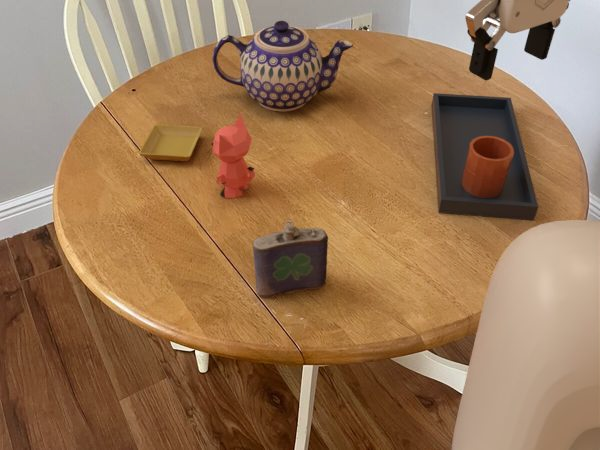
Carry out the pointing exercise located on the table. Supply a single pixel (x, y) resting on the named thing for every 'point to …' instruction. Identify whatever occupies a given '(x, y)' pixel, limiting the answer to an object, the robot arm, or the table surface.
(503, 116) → the tray
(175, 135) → the yellow square dish
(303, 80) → the teapot
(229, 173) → the cat figurine
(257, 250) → the flask
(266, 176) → the table surface
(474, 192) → the flower pot
